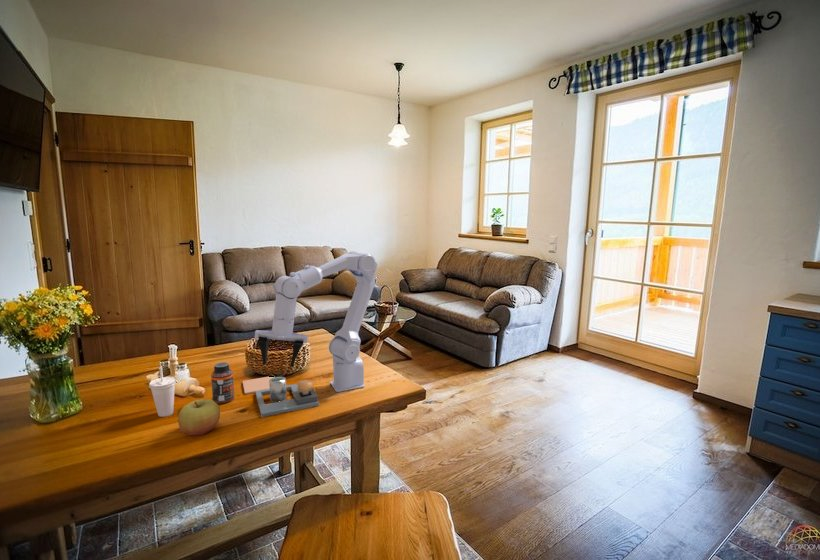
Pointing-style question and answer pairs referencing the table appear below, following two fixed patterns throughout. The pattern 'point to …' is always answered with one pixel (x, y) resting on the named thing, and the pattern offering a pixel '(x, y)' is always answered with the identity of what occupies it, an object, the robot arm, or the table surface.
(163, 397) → the smoothie
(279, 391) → the cartridge
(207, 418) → the apple
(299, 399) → the housing
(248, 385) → the coaster
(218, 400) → the supplement bottle
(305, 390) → the plunger
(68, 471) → the table surface
